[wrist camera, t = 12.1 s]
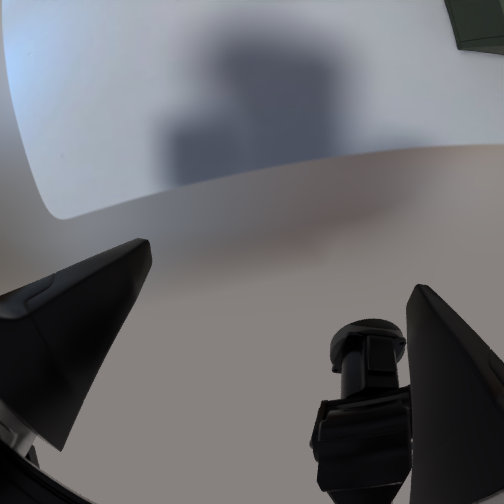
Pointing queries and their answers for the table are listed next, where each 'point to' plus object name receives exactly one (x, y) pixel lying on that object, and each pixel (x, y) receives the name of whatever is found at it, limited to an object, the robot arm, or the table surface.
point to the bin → (478, 24)
